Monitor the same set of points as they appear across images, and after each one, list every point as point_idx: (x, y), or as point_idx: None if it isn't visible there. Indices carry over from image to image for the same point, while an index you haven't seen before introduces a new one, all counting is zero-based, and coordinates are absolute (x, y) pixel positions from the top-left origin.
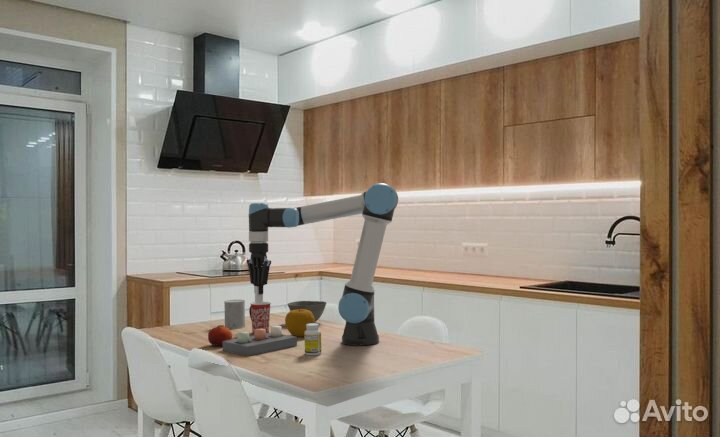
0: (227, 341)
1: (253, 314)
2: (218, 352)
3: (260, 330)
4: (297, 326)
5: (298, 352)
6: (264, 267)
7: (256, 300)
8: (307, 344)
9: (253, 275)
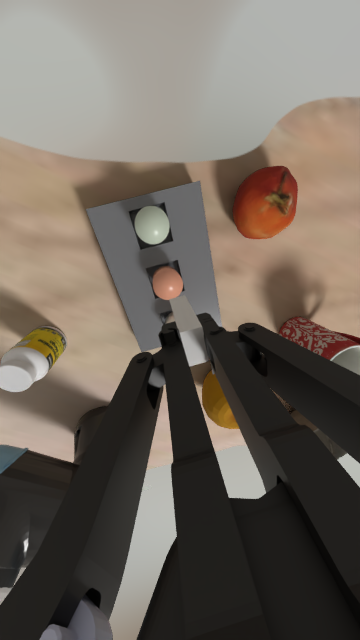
0: (188, 192)
1: (326, 334)
2: (177, 164)
3: (154, 281)
4: (208, 380)
5: (78, 322)
6: (50, 534)
7: (176, 301)
8: (26, 336)
9: (251, 366)
